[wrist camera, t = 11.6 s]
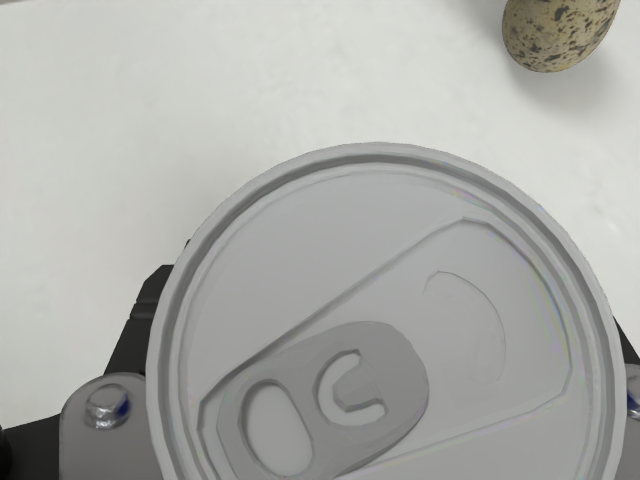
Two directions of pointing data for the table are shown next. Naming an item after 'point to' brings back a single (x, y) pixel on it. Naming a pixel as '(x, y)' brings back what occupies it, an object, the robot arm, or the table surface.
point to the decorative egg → (555, 31)
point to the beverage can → (384, 331)
